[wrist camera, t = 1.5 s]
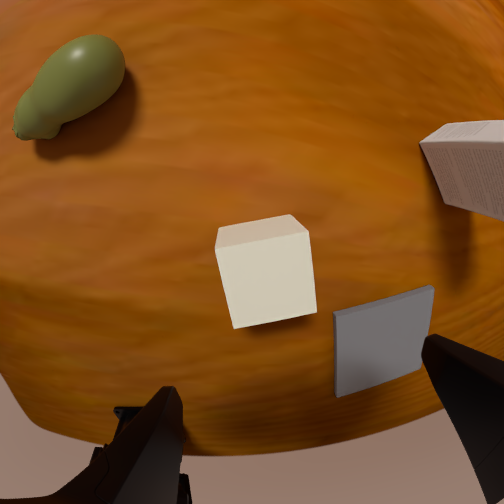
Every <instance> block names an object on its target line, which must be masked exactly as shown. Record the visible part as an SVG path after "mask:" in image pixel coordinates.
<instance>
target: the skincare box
mask: <svg viewBox="0 0 504 504" xmlns="http://www.w3.org/2000/svg"><path fill="white" fill-rule="evenodd" d="M420 146H421V148H422V150H423V152H424V154H425V156H426V158H427V161H428V163H429V165H430V168H431V170H432V172H433V175H434V177H435V179H436V182H437V184H438V187H439V190H440V192H441V195H442V197H443V200H444V203H445V204H448V205H452V206H455V207H459V208H463V209H466V210H469V211H473V212H476V213H479V214H483V215H486V216H489V217H492V218H495V219H498V220H501V221H504V120H491V121H473V122H460V123H449V124H445V125H443V126H442V127H441V128H439V129H438V130H437V131H435V132H434V133H432V134H431V135H429V136H428V137H426V138H425V139H424V140H422V141H421V142H420Z"/></svg>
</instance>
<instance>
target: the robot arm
mask: <svg viewBox="0 0 504 504" xmlns="http://www.w3.org/2000/svg"><path fill="white" fill-rule="evenodd" d="M421 358H422V361H423V363H424V365H425V368H426V370H427V372H428V375H429V377H430V379H431V382H432V384H433V386H434V389H435V391H436V393H437V395H438V396H439V398H440V400H441V402H442V404H443V406H444V408H445V410H446V411H447V413H448V415H449V417H450V419H451V421H452V423H453V425H454V427H455V429H456V431H457V433H458V435H459V437H460V439H461V442H462V444H463V446H464V448H465V450H466V452H467V455H468V457H469V459H470V461H471V464H472V466H473V468H474V471H475V473H476V476H477V478H478V481H479V483H480V486H481V488H482V491H483V493H484V496H485V498H486V501H487V504H496V503H498V502H499V501H500V500H502V499H503V498H504V361H502V360H499V359H497V358H494V357H492V356H489V355H487V354H484V353H482V352H479V351H477V350H474V349H472V348H470V347H467V346H465V345H462V344H460V343H457V342H455V341H452V340H450V339H447V338H445V337H442V336H440V335H437V334H432V335H429V336H427V337H425V339H424V343H423V347H422V351H421ZM113 411H114V413H115V414H116V416H117V417H118V419H119V423H118V426H117V429H116V432H115V435H114V438H113V441H112V442H111V443H110V444H109V445H108V444H105V445H104V447H103V448H102V447H95V449H94V451H93V454H92V457H91V460H90V463H89V466H88V467H86V468H85V469H84V470H83V471H82V472H81V473H80V474H78V475H77V476H76V477H75V478H74V479H72V480H71V481H70V482H68V483H67V484H66V485H65V486H63V487H62V488H61V489H60V490H58V491H57V492H55V493H53V494H51V495H48V496H43V497H34V498H20V499H0V504H192V499H191V491H190V484H189V478H188V475H187V474H184V473H183V474H180V473H179V472H180V463H181V461H182V453H183V444H184V443H185V442H186V438H185V436H184V433H183V404H182V401H181V399H180V396H179V394H178V392H177V390H176V388H175V387H174V386H163V387H162V388H161V389H160V390H159V391H158V392H157V393H156V394H155V395H154V396H153V397H152V399H151V400H150V401H149V402H148V403H147V404H146V405H145V406H144V407H114V410H113Z"/></svg>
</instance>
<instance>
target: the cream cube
mask: <svg viewBox="0 0 504 504" xmlns="http://www.w3.org/2000/svg"><path fill="white" fill-rule="evenodd" d="M215 253H216V257H217V261H218V266H219V270H220V274H221V278H222V282H223V287H224V291H225V295H226V299H227V303H228V307H229V311H230V315H231V319H232V323H233V327H234V329H236V328H241V327H247V326H253V325H258V324H263V323H268V322H273V321H278V320H283V319H288V318H293V317H298V316H302V315H307V314H311V313H316V312H317V308H316V296H315V285H314V275H313V266H312V256H311V248H310V239H309V231H308V230H307V229H306V228H304V227H303V226H302V225H301V224H300V223H299V222H298V221H297V220H296V219H295V218H294V217H293V216H292V215H290V214H289V215H284V216H278V217H273V218H267V219H262V220H256V221H251V222H246V223H241V224H236V225H230V226H225V227H220V228H219V230H218V235H217V240H216V245H215Z"/></svg>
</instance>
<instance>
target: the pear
mask: <svg viewBox="0 0 504 504" xmlns="http://www.w3.org/2000/svg"><path fill="white" fill-rule="evenodd" d="M124 73H125V60H124V56H123V53H122V51H121V49H120V48H119V46H118V45H117V44H116V43H115V42H114V41H113V40H111V39H110V38H108V37H105V36H102V35H86V36H82V37H79V38H77V39H74V40H72V41H70V42H69V43H67V44H65V45H64V46H62V47H61V48H60V49H58V50H57V51H56V52H55V53H53V54H52V55H51V56H50V57H49V58H48V60H47V61H46V62H45V63H44V64H43V66H42V67H41V69H40V70H39V72H38V74H37V76H36V78H35V80H34V82H33V85H32V86H31V87H30V88H29V89H28V90H27V91H26V92H25V93H24V94H23V95H22V97H21V98H20V100H19V102H18V104H17V106H16V109H15V114H14V116H13V119H14V126H13V128H12V130H14V132H15V135H16V137H18V138H20V139H21V140H26V141H27V140H31V139H39V138H41V139H52V138H54V137H55V136H56V135H57V134H58V132H59V130H60V128H61V125H62V124H63V123H65V122H69V121H72V120H75V119H77V118H79V117H81V116H83V115H85V114H87V113H89V112H90V111H92V110H93V109H95V108H97V107H98V106H100V105H101V104H103V103H104V102H105V101H107V100H108V99H109V98H110V97H111V96H112V95H113V94H114V93H115V92H116V91H117V89H118V88H119V86H120V84H121V82H122V80H123V77H124Z"/></svg>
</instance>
